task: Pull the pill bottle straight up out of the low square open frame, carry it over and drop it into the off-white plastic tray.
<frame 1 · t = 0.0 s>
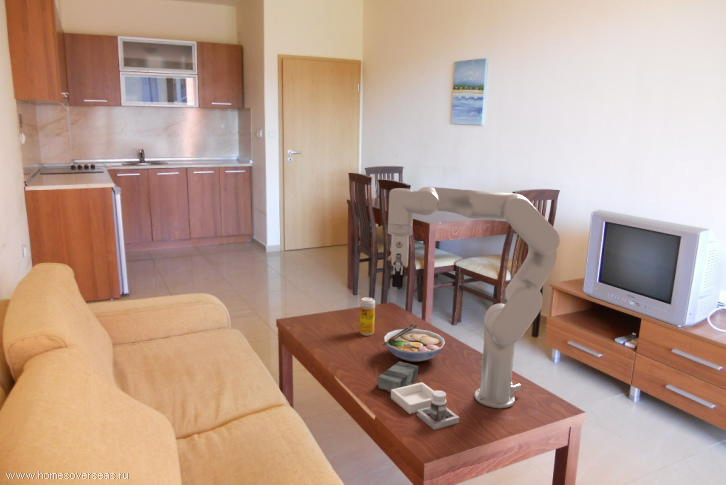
hand: (397, 282, 173), 37 cm above the table, tool pointing down, fingers open, 9 cm apart
stone block: (396, 385, 187), on the table
ramen bowl: (413, 358, 208), on the table
glass of beer: (366, 333, 231), on the table
tray: (416, 401, 175), on the table
square open frame: (437, 419, 165), on the table
pill bottle: (437, 419, 165), resting in square open frame
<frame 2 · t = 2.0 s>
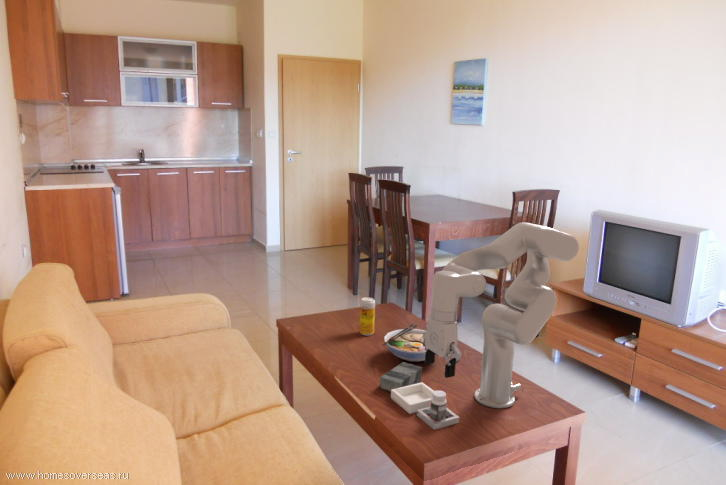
hand: (439, 370, 161), 16 cm above the table, tool pointing down, fingers open, 9 cm apart
stone block: (399, 385, 186), on the table
everything else where it was.
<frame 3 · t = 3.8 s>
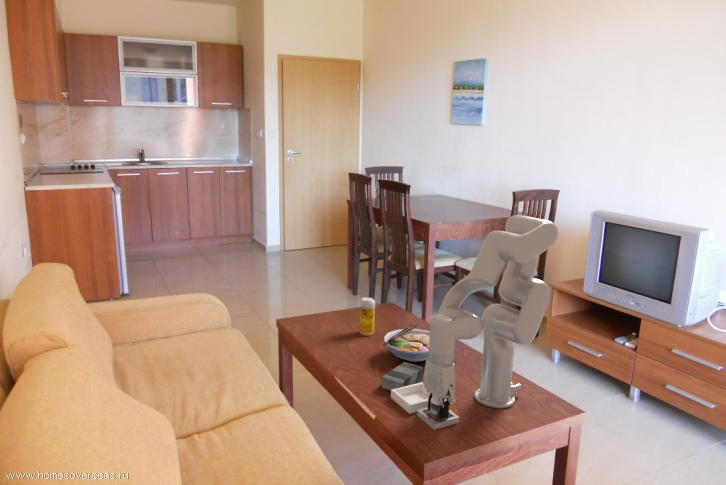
hand: (437, 412, 164), 2 cm above the table, tool pointing down, fingers closed on pill bottle, 4 cm apart
pill bottle: (437, 419, 165), resting in square open frame, touching gripper
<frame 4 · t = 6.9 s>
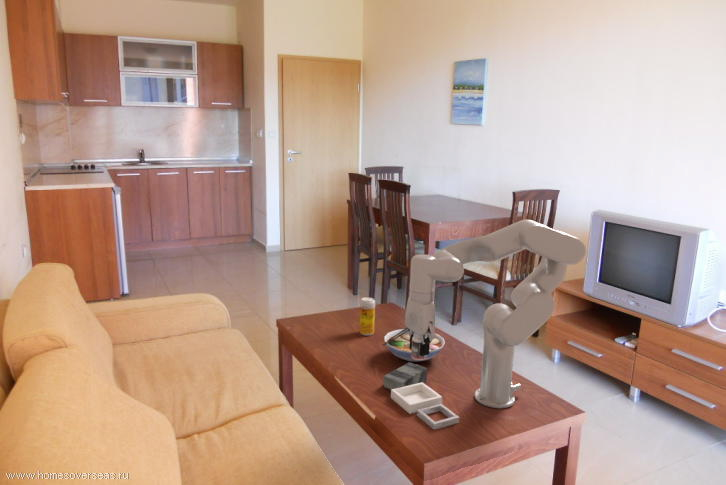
hand: (419, 351, 171), 17 cm above the table, tool pointing down, fingers closed on pill bottle, 4 cm apart
stone block: (403, 385, 187), on the table
pill bottle: (418, 357, 171), point 15 cm above the table, touching gripper
everything else where it was.
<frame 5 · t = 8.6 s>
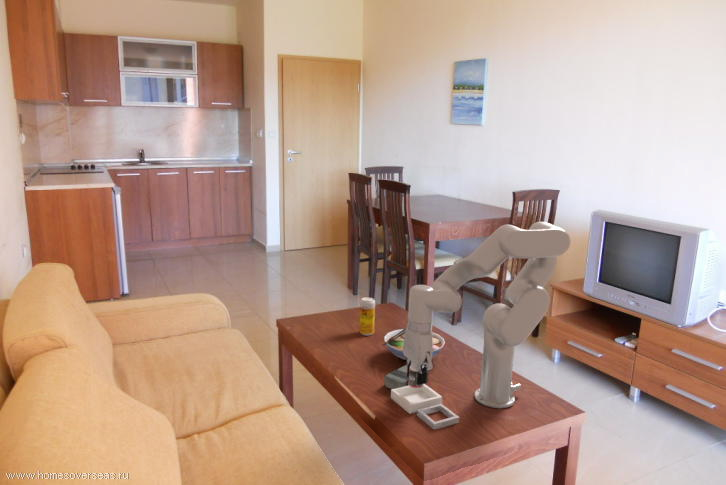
hand: (416, 379, 173), 8 cm above the table, tool pointing down, fingers closed on pill bottle, 4 cm apart
pill bottle: (415, 386, 174), point 5 cm above the table, touching gripper
when the fingers open (4 cm above the table, at t = 10.1 s): pill bottle drops 2 cm, resting on tray.
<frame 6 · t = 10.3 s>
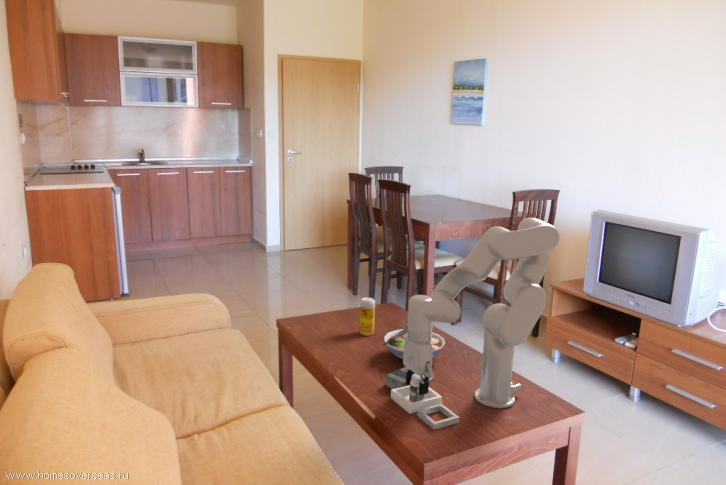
hand: (416, 388, 174), 5 cm above the table, tool pointing down, fingers open, 6 cm apart
pill bottle: (416, 401, 175), resting on tray
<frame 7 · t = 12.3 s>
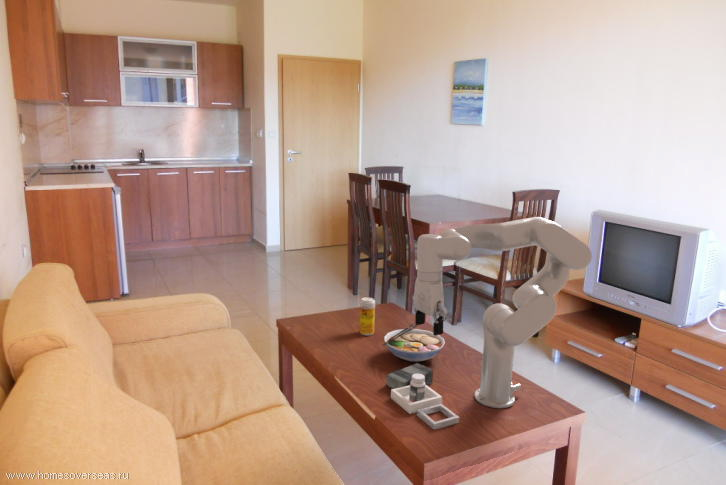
hand: (428, 329, 169), 25 cm above the table, tool pointing down, fingers open, 9 cm apart
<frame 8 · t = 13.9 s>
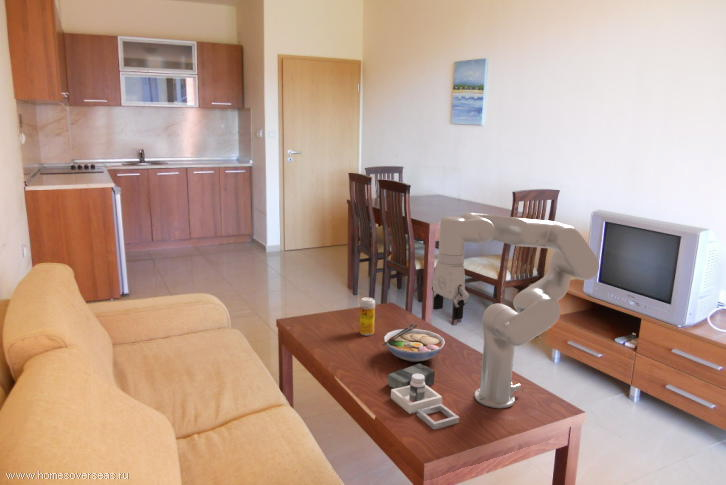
hand: (447, 313, 166), 30 cm above the table, tool pointing down, fingers open, 9 cm apart
at the end: pill bottle inside the target area on the tray (0.2 cm from its centre), point 0.3 cm above the tray's base; the gripper is holding nothing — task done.
